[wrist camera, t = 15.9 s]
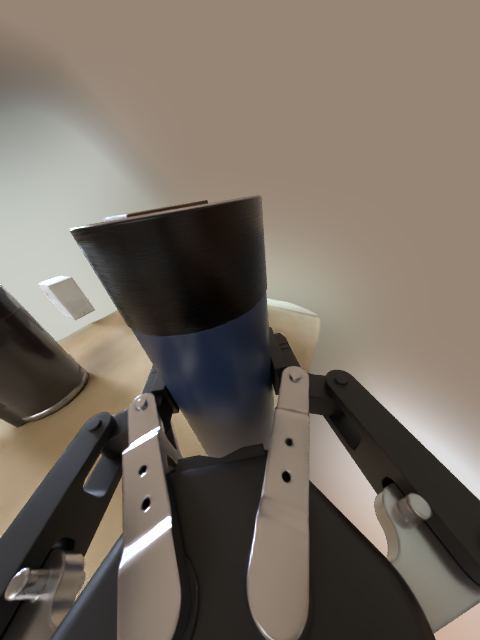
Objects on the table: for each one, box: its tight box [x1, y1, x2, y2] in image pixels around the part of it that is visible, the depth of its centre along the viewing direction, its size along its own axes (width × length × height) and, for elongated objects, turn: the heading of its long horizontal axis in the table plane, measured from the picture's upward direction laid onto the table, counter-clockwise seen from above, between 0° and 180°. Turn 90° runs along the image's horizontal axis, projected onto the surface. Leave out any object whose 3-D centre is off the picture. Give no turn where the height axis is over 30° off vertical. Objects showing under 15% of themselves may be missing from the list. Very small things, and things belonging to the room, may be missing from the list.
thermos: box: [70, 195, 274, 458], centre depth 11 cm, size 6×6×18 cm
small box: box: [37, 276, 95, 320], centre depth 51 cm, size 8×6×10 cm
